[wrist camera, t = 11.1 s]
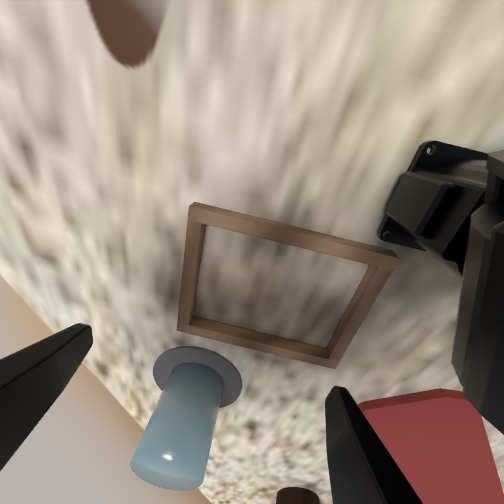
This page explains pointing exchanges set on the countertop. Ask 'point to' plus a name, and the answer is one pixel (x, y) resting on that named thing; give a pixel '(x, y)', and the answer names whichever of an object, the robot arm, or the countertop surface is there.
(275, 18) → the countertop surface
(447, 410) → the carton
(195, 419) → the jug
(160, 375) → the coaster
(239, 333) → the brown wooden frame
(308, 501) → the coffee mug
